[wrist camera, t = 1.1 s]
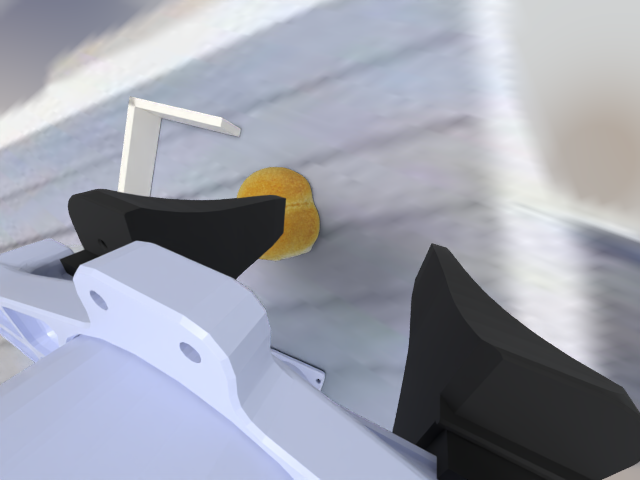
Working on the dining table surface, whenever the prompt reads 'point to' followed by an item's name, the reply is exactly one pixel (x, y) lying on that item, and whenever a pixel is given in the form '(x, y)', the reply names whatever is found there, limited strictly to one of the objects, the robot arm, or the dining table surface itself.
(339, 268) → the dining table surface
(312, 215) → the bread roll
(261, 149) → the dining table surface
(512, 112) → the dining table surface
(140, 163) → the tray
